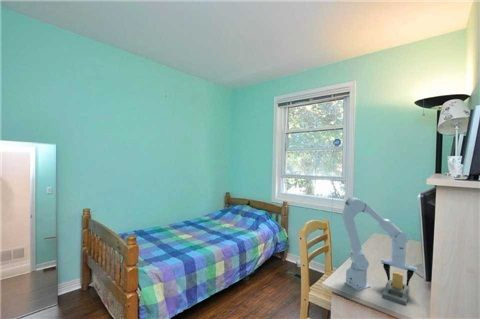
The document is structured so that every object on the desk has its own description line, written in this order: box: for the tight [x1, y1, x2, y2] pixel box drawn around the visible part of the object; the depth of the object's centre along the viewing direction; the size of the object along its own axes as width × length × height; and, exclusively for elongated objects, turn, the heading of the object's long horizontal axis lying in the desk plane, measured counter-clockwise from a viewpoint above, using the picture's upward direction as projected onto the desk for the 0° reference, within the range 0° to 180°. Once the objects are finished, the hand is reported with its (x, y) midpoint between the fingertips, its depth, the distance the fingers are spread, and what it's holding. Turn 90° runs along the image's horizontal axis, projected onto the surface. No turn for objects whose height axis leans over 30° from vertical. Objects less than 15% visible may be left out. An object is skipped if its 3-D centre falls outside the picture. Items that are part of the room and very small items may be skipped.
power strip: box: [381, 279, 410, 306], centre depth 111 cm, size 18×9×2 cm, turn 140°
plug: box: [391, 271, 404, 290], centre depth 115 cm, size 4×4×8 cm
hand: (397, 282), depth 115 cm, fingers open, 7 cm apart
